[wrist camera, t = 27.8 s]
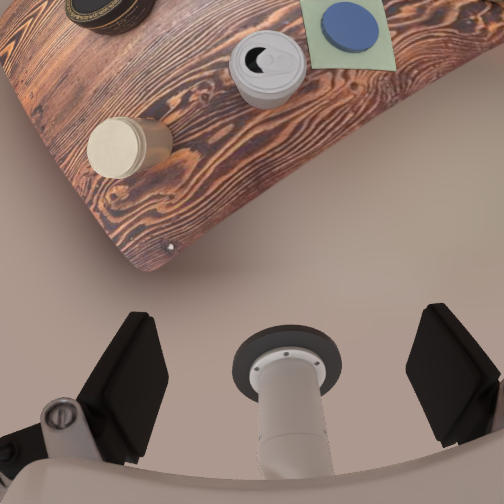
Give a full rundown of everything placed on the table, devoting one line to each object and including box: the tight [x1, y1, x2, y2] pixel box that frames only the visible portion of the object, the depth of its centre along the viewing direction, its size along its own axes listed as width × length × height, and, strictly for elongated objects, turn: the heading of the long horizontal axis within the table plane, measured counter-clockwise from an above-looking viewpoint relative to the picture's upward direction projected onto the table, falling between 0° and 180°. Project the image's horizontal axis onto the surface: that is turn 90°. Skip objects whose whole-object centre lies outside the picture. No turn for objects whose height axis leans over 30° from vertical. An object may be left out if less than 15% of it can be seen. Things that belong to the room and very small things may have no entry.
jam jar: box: [87, 116, 173, 179], centre depth 29 cm, size 6×6×10 cm
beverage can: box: [229, 30, 307, 110], centre depth 25 cm, size 6×6×12 cm
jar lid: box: [320, 2, 379, 53], centre depth 26 cm, size 7×7×2 cm
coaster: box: [300, 0, 397, 71], centre depth 27 cm, size 11×11×1 cm
